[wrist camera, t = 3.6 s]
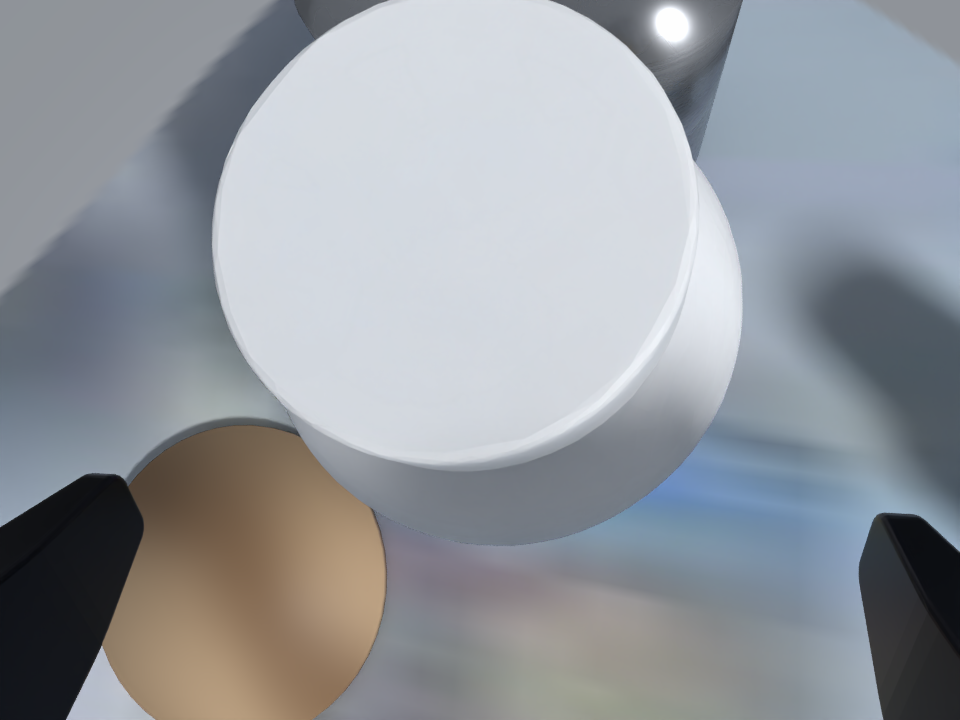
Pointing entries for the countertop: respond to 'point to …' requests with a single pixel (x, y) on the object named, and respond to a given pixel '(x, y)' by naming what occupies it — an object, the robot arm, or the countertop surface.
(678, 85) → the spacers
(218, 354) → the countertop surface
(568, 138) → the supplement bottle
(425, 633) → the countertop surface
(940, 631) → the robot arm
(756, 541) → the countertop surface
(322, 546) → the cork coaster
